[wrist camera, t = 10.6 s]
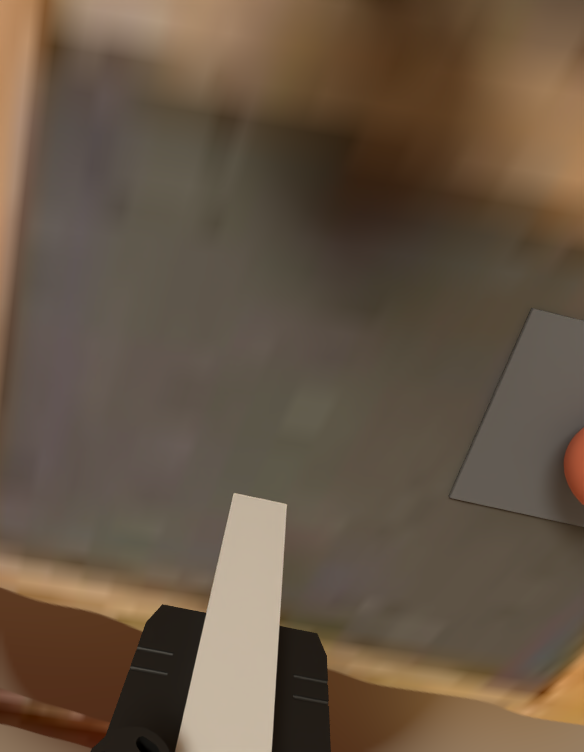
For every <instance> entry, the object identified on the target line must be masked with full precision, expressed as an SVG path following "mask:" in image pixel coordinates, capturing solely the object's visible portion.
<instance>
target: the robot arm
mask: <svg viewBox="0 0 584 752" xmlns="http://www.w3.org/2000/svg"><path fill="white" fill-rule="evenodd" d="M286 508H287V504H283V503H279V502H274V501H269V500H264V499H260V498H255V497H250V496H246V495H241V494H236V493H234V494H233V499H232V503H231V507H230V512H229V516H228V520H227V525H226V529H225V533H224V538H223V542H222V546H221V551H220V555H219V559H218V564H217V568H216V572H215V577H214V581H213V586H212V590H211V594H210V599H209V603H208V608H207V612H206V613H204V612H198V611H193V610H188V609H183V608H178V607H173V606H168V605H163V604H162V605H161V607H160V608H159V609H158V610H157V611H156V612H155V613H154V614H153V615H152V616H151V618H150V619H149V620H148V621H147V622H146V624H145V627H144V630H143V633H142V635H141V638H140V641H139V644H138V647H137V650H136V653H135V655H134V658H133V661H132V663H131V667H130V670H129V672H128V675H127V678H126V680H125V683H124V686H123V689H122V692H121V694H120V697H119V700H118V703H117V706H116V709H115V711H114V714H113V717H112V720H111V723H110V725H109V728H108V731H107V734H106V736H105V737H104V738H103V739H102V740H101V741H100V742H99V743H98V744H97V745H96V746H94V747H93V748H92V750H91V752H331V749H330V724H329V706H328V701H329V700H328V685H327V681H328V674H327V655H326V653H325V651H324V648H323V646H322V644H321V641H320V639H319V637H318V634H317V633H312V632H307V631H302V630H297V629H292V628H287V627H282V626H279V623H280V606H281V590H282V574H283V557H284V541H285V525H286Z"/></svg>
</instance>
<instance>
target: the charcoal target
mask: <svg viewBox="0 0 584 752" xmlns="http://www.w3.org/2000/svg"><path fill="white" fill-rule="evenodd" d="M582 428H584V321H582V320H578V319H574V318H570V317H566V316H562V315H558V314H554V313H550V312H546V311H542V310H538V309H533V308H531V310H530V313H529V315H528V317H527V319H526V322H525V324H524V326H523V329H522V331H521V333H520V335H519V338H518V340H517V342H516V344H515V347H514V349H513V351H512V354H511V356H510V358H509V360H508V363H507V365H506V367H505V369H504V372H503V374H502V376H501V379H500V381H499V383H498V385H497V388H496V390H495V392H494V394H493V397H492V399H491V401H490V404H489V406H488V408H487V410H486V413H485V415H484V417H483V420H482V422H481V424H480V426H479V429H478V431H477V433H476V435H475V438H474V440H473V442H472V445H471V447H470V449H469V451H468V454H467V456H466V458H465V460H464V463H463V465H462V467H461V470H460V472H459V474H458V476H457V479H456V481H455V483H454V486H453V488H452V490H451V492H450V495H449V497H450V498H453V499H457V500H462V501H467V502H471V503H476V504H480V505H485V506H489V507H494V508H499V509H503V510H508V511H512V512H517V513H522V514H526V515H531V516H535V517H540V518H544V519H549V520H554V521H558V522H563V523H567V524H572V525H576V526H581V527H584V505H583V504H582V503H581V502H580V501H579V500H578V499H577V498H576V497H575V495H574V494H573V493H572V491H571V489H570V487H569V486H568V483H567V480H566V477H565V473H564V456H565V452H566V449H567V447H568V445H569V443H570V441H571V440H572V438H573V437H574V436H575V435H576V434H577V433H578V432H579V431H580V430H581V429H582Z"/></svg>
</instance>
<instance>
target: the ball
mask: <svg viewBox="0 0 584 752" xmlns="http://www.w3.org/2000/svg"><path fill="white" fill-rule="evenodd" d="M564 473H565V477H566V480H567V483H568V486H569V487H570V489H571V491H572V493H573V494H574V495H575V497H576V498H577V499H578V500H579V501H580V502H581V503H582V504H583V505H584V428H582V429H581V430H580V431H579V432H578V433H577V434H576V435H575V436H574V437H573V438H572V440H571V441H570V443H569V445H568V447H567V449H566V452H565V456H564Z"/></svg>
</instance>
